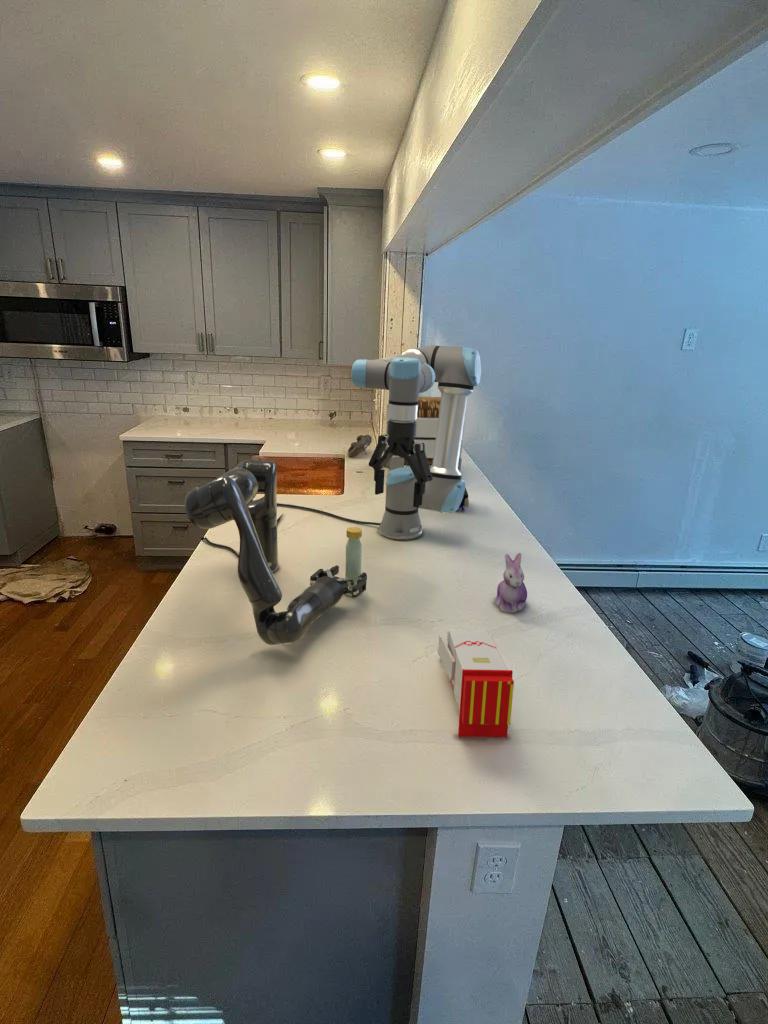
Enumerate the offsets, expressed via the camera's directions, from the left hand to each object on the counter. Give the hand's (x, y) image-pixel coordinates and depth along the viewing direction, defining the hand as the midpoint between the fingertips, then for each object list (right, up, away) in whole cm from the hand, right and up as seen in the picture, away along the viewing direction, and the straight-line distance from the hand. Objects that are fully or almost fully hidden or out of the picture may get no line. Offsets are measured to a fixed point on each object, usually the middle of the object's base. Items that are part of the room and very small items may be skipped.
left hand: (351, 572), depth 154 cm
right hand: (+13, +20, -3) cm, 24 cm away
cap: (+1, +11, -3) cm, 12 cm away
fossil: (-4, +48, +151) cm, 159 cm away
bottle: (0, -6, +3) cm, 7 cm away
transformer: (+26, +35, +121) cm, 128 cm away
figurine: (+43, -9, 0) cm, 44 cm away
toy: (+27, -21, -36) cm, 50 cm away
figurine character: (+39, +18, +76) cm, 87 cm away
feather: (-29, +14, +56) cm, 64 cm away
